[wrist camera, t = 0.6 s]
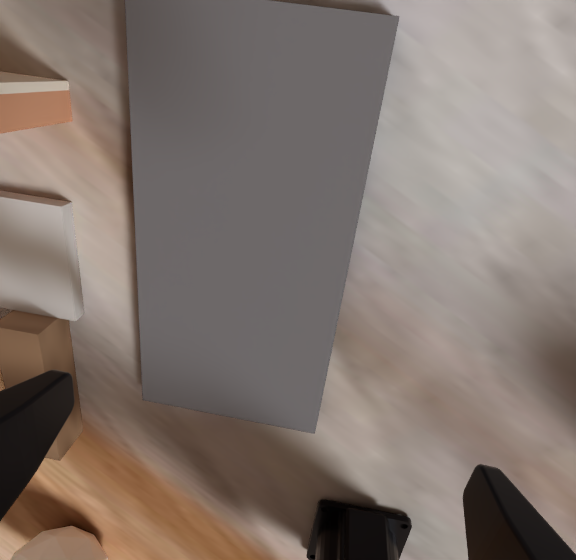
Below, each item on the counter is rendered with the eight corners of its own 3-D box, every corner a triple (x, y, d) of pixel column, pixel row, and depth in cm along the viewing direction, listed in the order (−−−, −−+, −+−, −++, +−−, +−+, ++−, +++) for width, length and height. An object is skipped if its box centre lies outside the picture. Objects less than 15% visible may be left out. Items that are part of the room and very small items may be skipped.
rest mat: (316, 421, 27) (314, 433, 26) (149, 389, 28) (142, 400, 27) (396, 19, 17) (399, 16, 16) (135, -14, 18) (124, -18, 17)
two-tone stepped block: (98, 431, 30) (75, 464, 28) (32, 418, 31) (4, 449, 28) (72, 201, 23) (38, 217, 20) (-15, 187, 23) (-59, 201, 21)
